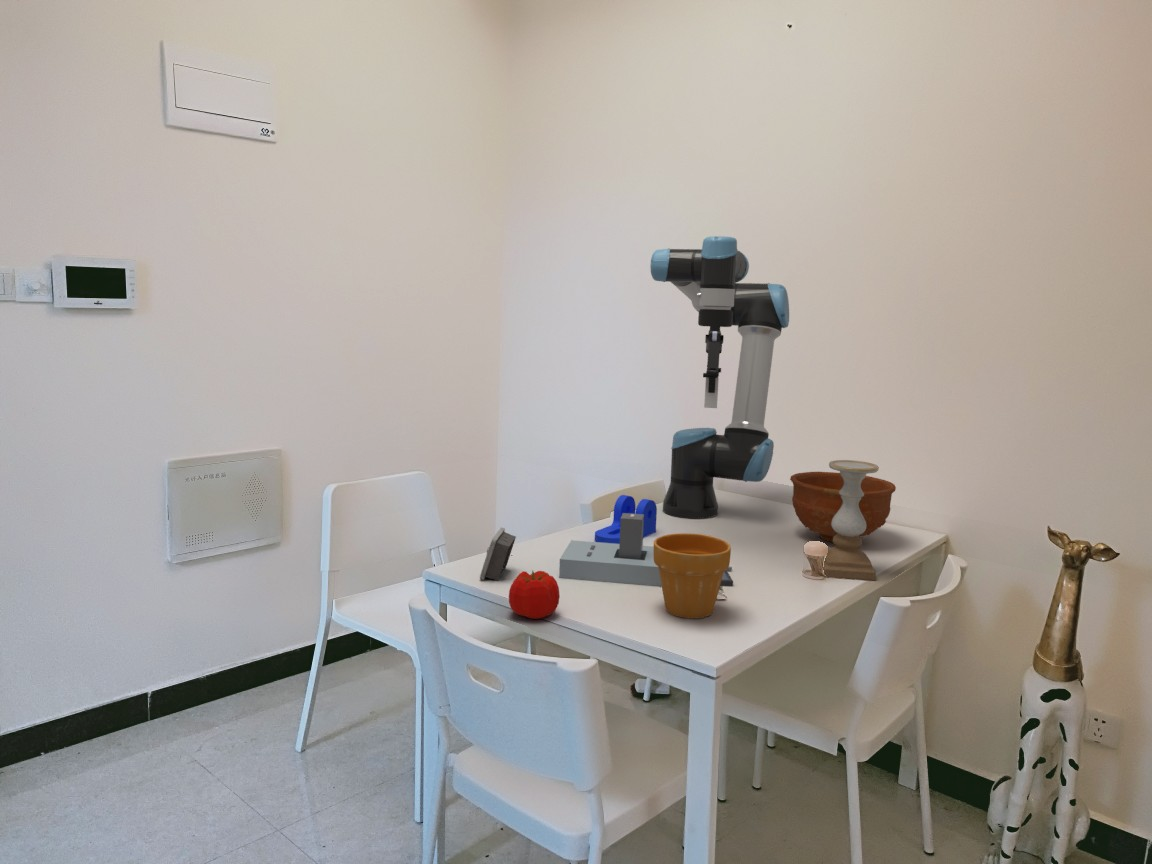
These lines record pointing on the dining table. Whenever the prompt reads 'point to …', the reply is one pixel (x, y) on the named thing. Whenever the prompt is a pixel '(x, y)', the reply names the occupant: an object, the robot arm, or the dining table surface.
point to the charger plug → (631, 536)
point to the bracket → (628, 506)
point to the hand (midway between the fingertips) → (710, 404)
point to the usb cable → (729, 569)
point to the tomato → (534, 594)
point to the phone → (726, 579)
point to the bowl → (838, 501)
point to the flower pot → (691, 572)
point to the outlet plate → (607, 564)
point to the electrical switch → (497, 555)
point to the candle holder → (849, 525)
